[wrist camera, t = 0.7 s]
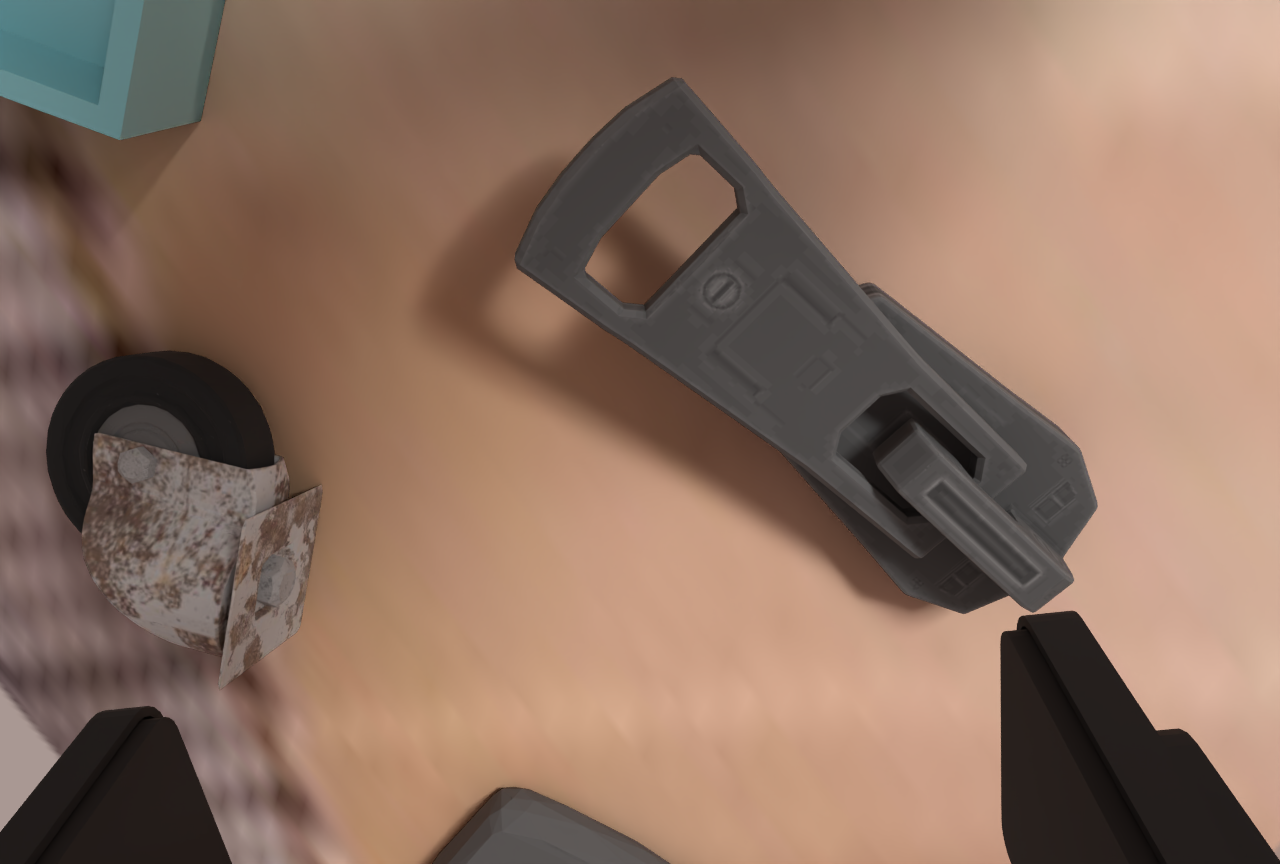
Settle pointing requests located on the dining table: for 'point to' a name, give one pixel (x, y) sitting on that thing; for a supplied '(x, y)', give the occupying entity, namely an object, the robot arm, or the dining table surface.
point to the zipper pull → (824, 370)
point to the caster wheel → (184, 504)
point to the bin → (110, 60)
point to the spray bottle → (539, 835)
